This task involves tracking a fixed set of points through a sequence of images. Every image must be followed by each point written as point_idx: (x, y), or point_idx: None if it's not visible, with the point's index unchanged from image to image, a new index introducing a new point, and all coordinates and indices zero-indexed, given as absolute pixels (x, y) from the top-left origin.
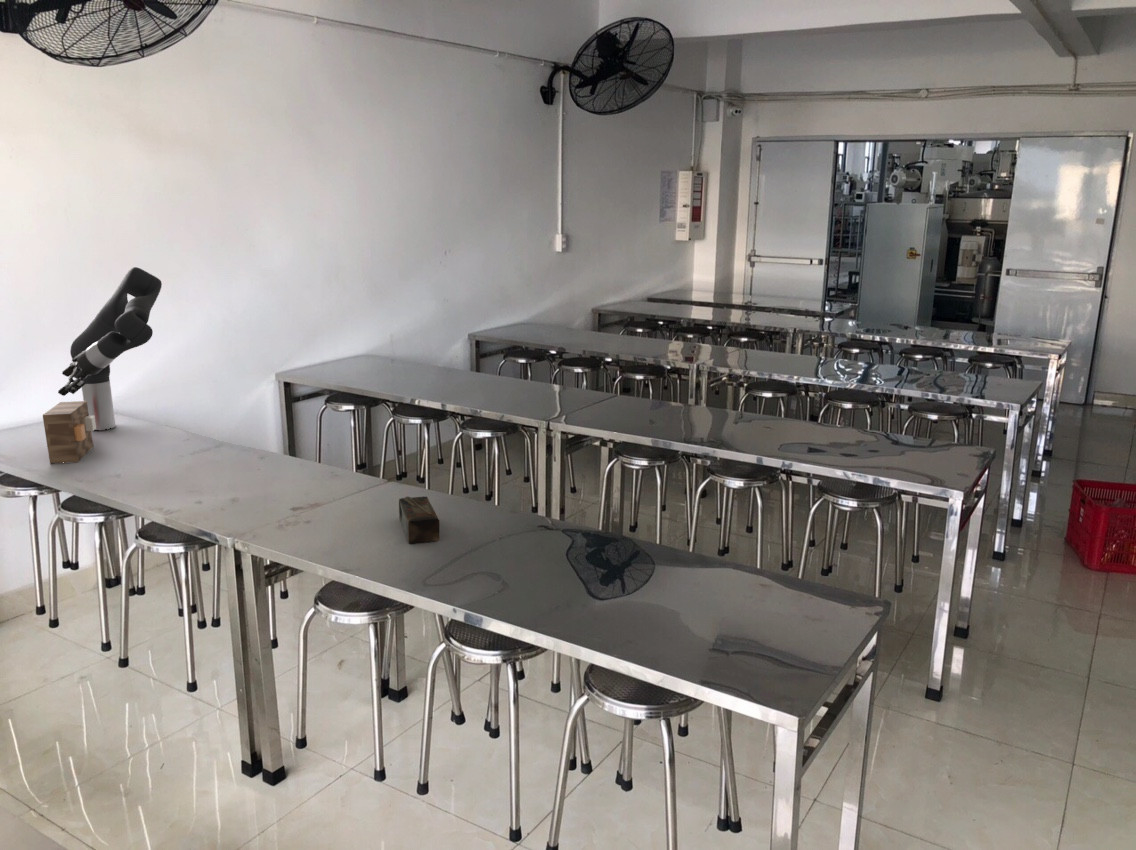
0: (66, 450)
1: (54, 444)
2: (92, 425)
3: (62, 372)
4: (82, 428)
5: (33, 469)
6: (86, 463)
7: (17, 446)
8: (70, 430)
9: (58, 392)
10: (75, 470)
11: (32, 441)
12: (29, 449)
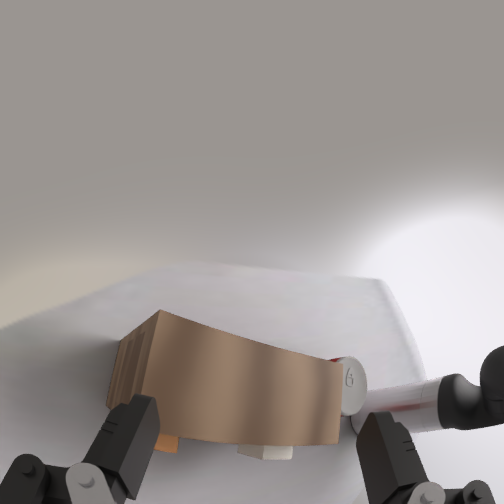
0: (115, 383)
1: (126, 352)
2: (247, 455)
3: (379, 414)
4: None
5: (90, 299)
6: (87, 425)
7: (295, 283)
8: None
9: (134, 396)
10: (29, 391)
11: (318, 308)
12: (270, 302)
